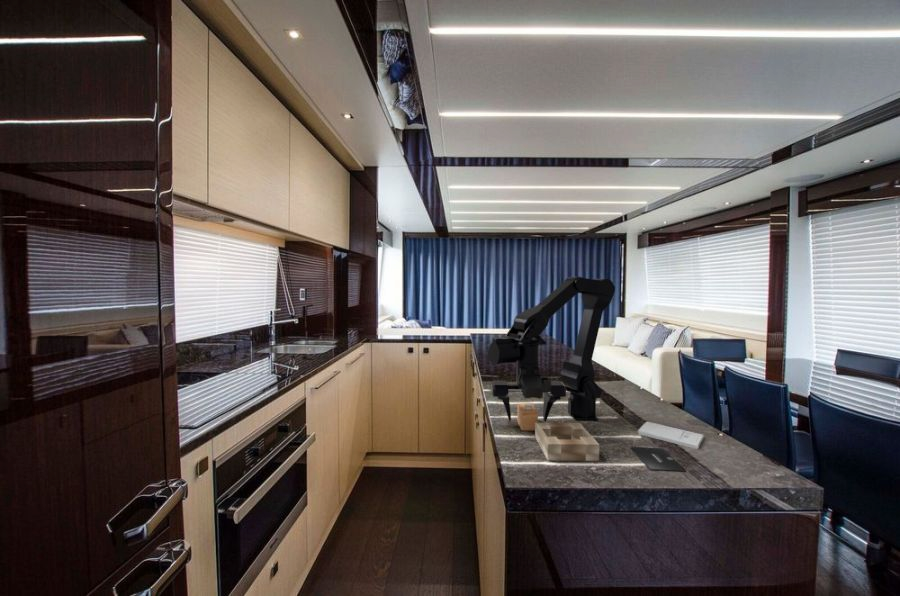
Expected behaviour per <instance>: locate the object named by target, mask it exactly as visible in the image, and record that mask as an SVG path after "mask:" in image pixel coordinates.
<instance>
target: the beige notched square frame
mask: <svg viewBox="0 0 900 596" xmlns="http://www.w3.org/2000/svg"><path fill="white" fill-rule="evenodd" d="M534 438H535V439H536V441H537V443H538V445H539V447H540V449H541V451H542V453H543V454H544V456H545V458H546V460H547V461H555V462H556V461H565V462H566V461H567V462H568V461H569V462H570V461H571V462H574V461H575V462H577V461H578V462H580V461H581V462H599V461H600V444H599V443H598V442H597V440H596V439H595V438H594V437H593V435H592V434H591V433H590V432H589V431H588V430H587V429H586V428H585V427H584V426H583V425H582V423H580V422H537V423H535V430H534Z"/></svg>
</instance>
